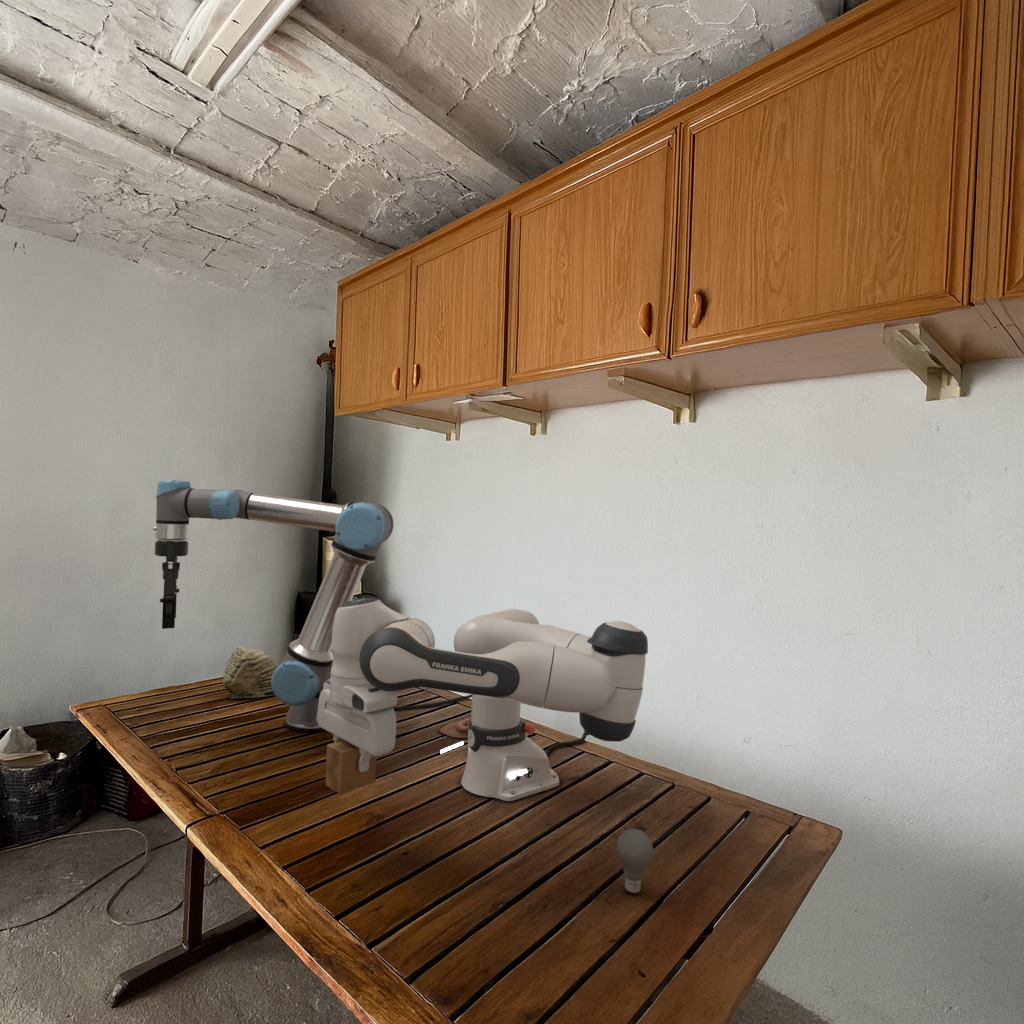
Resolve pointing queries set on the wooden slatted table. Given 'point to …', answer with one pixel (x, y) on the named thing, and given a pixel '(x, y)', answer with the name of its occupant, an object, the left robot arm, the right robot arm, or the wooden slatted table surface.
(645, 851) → the light bulb
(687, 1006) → the wooden slatted table surface
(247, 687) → the fossil
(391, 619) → the right robot arm
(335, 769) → the tan brown block
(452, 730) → the anatomical model
